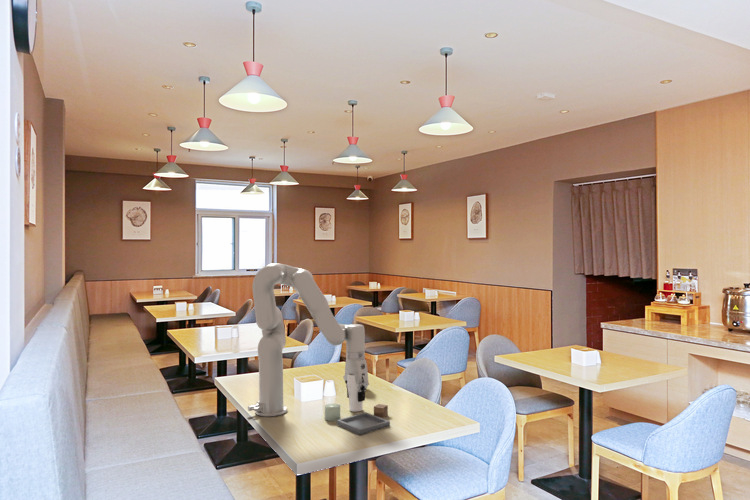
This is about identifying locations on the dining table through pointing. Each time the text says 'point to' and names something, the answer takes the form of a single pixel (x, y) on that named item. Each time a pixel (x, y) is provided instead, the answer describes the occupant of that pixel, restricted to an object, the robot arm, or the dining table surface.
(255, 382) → the dining table surface
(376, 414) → the walnut block
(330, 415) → the pale green rounded cylinder
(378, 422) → the slate tray
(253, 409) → the robot arm
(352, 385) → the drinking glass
